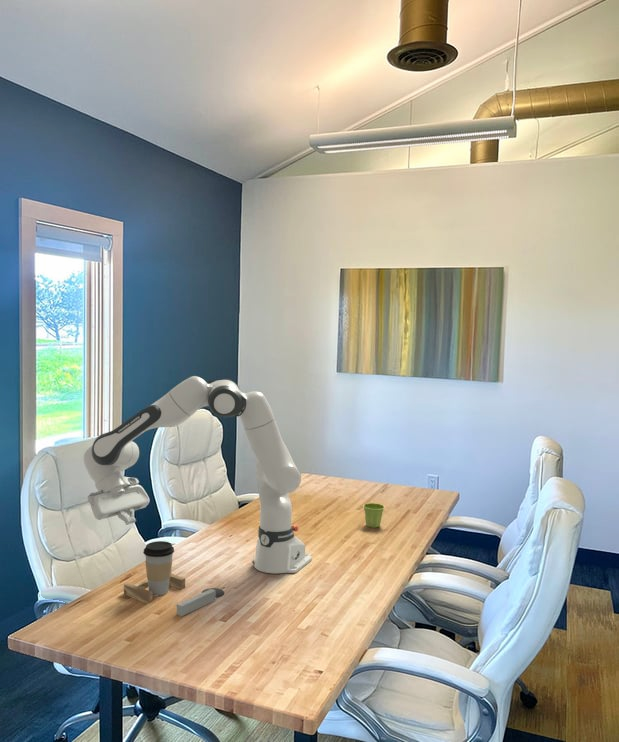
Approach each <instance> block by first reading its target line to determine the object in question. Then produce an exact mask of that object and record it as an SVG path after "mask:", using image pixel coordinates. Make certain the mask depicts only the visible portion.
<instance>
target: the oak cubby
mask: <svg viewBox="0 0 619 742" xmlns="http://www.w3.org/2000/svg"><path fill="white" fill-rule="evenodd" d="M169 584H170V585H169V586H171V585H172V587H174V586H175V588H176V589H179V588H180V589H179V590H183V589H185V588H186V578H185V577H183V576H180V575H178V574H175V573H172V572H171V576H170V580H169ZM147 587H148V579H147V580H143V581H141V582H139V583H136V584H133V583H130V582H127V583H124V584H123V594H124V595H125V594H126V596H128V597H131V598H133V599H135V600H137V601H139V602H142V603H144V604H147V605H148V604H150V603H152V602H153V595H152V592H151V591H149V589H145V588H147Z"/></svg>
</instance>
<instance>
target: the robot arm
mask: <svg viewBox="0 0 619 742" xmlns="http://www.w3.org/2000/svg"><path fill="white" fill-rule="evenodd" d="M204 407H208V408H209V409H210V411H211V412H212V413H213V415H215V416H217V417H221V418H231V417H235V418H236V417H239V418H240V420H241V422H242V425H243V428H244V431H245V434H246V437H247V440H248V442H249V445H250V448H251V451H252V452H253V454H254V455H255V457H256V461H255V463H254V472H255V476H256V481H257V489H258V495H259V496H258V497H259V507H260V508H259V509H260V510H259V511H260V513H259V516H260V517H259V526H258V530H257V532H258V533H257V536H258V539H257V541H256V547H255V548H256V550H255V555H254V557H253V559H252V560H253V563H254V564H253V566H254V568H255V570H257V571H259V572H262V573H266V574H287V573H288V574H296V573H298V571H300V570H301V569H302V568H304V567H305V566H306V565H308V563H310V562H311V561H312V560H313V559H312V556H311V555H309V554H308V553H306V545H305V543H304V542H302V541H301V540H300V539H299V538H298V537H297V536H295V533H294V532H298V531H299V526H298V525H294V524H293V525H292V510H293V508H292V506H293V505H292V501H291V499H290V495H289V494H291V493H294V492H295V491H297V489H298V488H299V487H300V486H301V481H302V476H301V472H300V471H299V469H298V468H297V465H296V463H295V462H294V460H293V457H292V456H291V455H292V454H290V451H289V449H288V447H287V446H286V443H285V442H284V440H283V437H282V434H281V432H280V428H279V425H278V423H277V421H276V417H275V415H274V411H273V409H272V407H271V405H270V403H269V402H268V399H267V397H266V396H265V394H264V393H262V392H260V391H256V390H255V391H249V392H242V391H241V389H240V386H239V385H238V383H236V381H235V380H232V379H231V378H219V379H214V380H209V381H206V380H205V379H203V378H201V377H200V376H197V375H193V376H189V377H188V378H186V379H185V380H183V381H181V382H179V383H178V384H177V385H176V386H174V387H173V388H172V389H170V390H169V391H167V393H165V394H164V395H163V396H161V398H159V399H157V400H156V401H155V402H153V403H152V404H149V405H148V406H146V407H144V408H142V409H141V410H139V411H138V412H137V413H136V414H134V415H133V416H131V417H130V418H128V419H127V420H125V422H122V423H121V424H120V425H118V426H117V427H116V428H115V429H113V430H111V431H108V432H104V433H102V434H100V435H99V436H97V437H96V438H95V440H94V441H93V442H92V445H91V446H90V447H88V449H86V451H85V452H84V454H83V462H84V466H85V468H86V471H87V473H88V474H89V476H90V478H91V480H93V481H94V485H95V488H96V490H97V491H95V492H91V493H89V495H88V496H87V501H88V503H89V505H90V509H91V511H92V513H93V516H94V518H95V519H96V520H97V521H102V520H105V519H109V518H112V517H116V516H117V517H118V518H119V519H120V520H122V521H123V523H124V524H125V525H126V526H129V525H132V524H135V523H136V522H137V519H136V518H135V512H136V511H138V510H141V509H144V508H145V509H146V508H147V506H148V505H149V504H150V497H149V495H148V493H147V492H146V490H145V489H144V487H143V486H142V485H140V484H139V483H140V481H139V479H138V478H137V477H128V476H125V475H122V474H121V473H122V472H124V471H126V470H128V469H129V468H131V467H133V466H134V465H136V463H137V462H138V460H139V458H140V448H139V446H138V444H137V442H134V441H133V440H135V439H136V438H138V437H140V436H141V435H142V434H143V433H145V432H147V431H150V430H152V429H157V428H159V429H160V428H175V427H178V426H179V425H181V424H182V423H185V422H186V421H187V420H188V419H189V418H190V417H191V416H193V415H194V414H195V413H197V411H199V410H200V409H202V408H204ZM126 514H127V515H126ZM128 516H129V517H128Z"/></svg>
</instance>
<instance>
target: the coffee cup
mask: <svg viewBox="0 0 619 742" xmlns="http://www.w3.org/2000/svg"><path fill="white" fill-rule="evenodd" d="M142 553H143V554H144V555H145V569H146V578H147V580H148V586H147V587H148V591H151V592H152V596H154V595H157V597H159V595H160V596H164V595H166V594H167V593H168V592H169V589H170V588H169V587H170V585H169V580H170V576H171V573H172V566H173V554H174V553H175V548H174V546H173V544H172V543H171V542H169V541H163V540H160V541H159V540H158V541H151V542H149V543H147V544H146V545H145V548H144V549H143V552H142Z"/></svg>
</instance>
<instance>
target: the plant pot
mask: <svg viewBox="0 0 619 742" xmlns="http://www.w3.org/2000/svg"><path fill="white" fill-rule="evenodd" d="M362 506H363V507H362V508H363V509H364V515H365V516H364V517H365V525H366V526H367V527H369V528H380V526H381V524H382V523H381V522H382V516H383V512H384V510H385V508H386V507H385V505H383V504H381V503H375V502H367V503H364V504H363V505H362Z"/></svg>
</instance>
